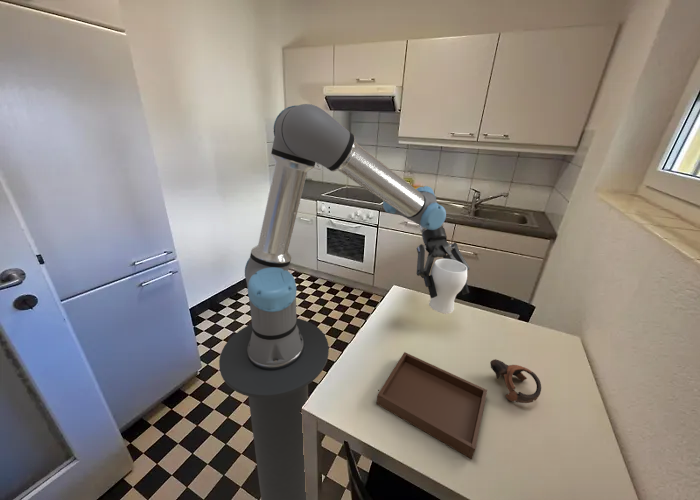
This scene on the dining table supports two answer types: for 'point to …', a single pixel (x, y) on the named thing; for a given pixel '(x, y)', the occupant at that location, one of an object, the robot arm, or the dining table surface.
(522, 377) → the brown curled loop
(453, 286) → the cup
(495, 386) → the dining table surface
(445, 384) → the tray
